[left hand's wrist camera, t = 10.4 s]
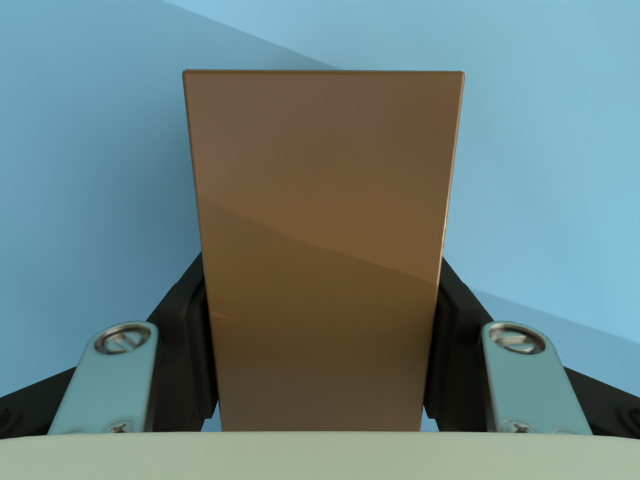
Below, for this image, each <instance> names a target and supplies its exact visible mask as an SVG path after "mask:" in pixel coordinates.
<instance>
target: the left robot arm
mask: <svg viewBox="0 0 640 480" xmlns="http://www.w3.org/2000/svg"><path fill="white" fill-rule="evenodd" d="M217 401H218V392H217V384H216V375H215V366H214V357H213V348H212V339H211V330H210V321H209V312H208V303H207V294H206V285H205V276H204V267H203V258H202V251H201V252H200V254H199V255H198V256H197V258H196V259H195V260H194V262H193V263H192V264H191V265H190V267H189V268H188V269H187V271H186V272H185V273H184V274H183V276H182V277H181V278H180V280H179V281H178V282H177V283H176V284H175V285H173V287H172V288H171V289H170V291H169V292H168V293H167V294H166V296H165V297H164V298H163V300H162V301H161V302H160V303H159V305H158V306H157V307H156V309H155V310H154V311H153V312H152V314H151V315H150V316H149V318H148V319H147V320H146V321H128V322H124V323H119V324H116V325H113V326H110V327H108V328H106V329H104V330H102V331H100V332H98V333H97V334H96V335H95V336H93V337H92V338H91V339H90V341H89V342H88V343H87V345H86V347H85V349H84V352H83V354H82V356H81V359H80V361H79V363H78V365H77V366H76V367H74V368H71V369H69V370H66V371H64V372H61V373H59V374H57V375H54V376H52V377H49V378H47V379H45V380H42V381H40V382H37V383H35V384H32V385H30V386H28V387H25V388H23V389H20V390H18V391H15V392H13V393H11V394H8V395H6V396H3V397H1V398H0V480H640V398H639V397H637V396H634V395H632V394H629V393H627V392H625V391H622V390H620V389H617V388H615V387H612V386H610V385H608V384H605V383H603V382H600V381H598V380H595V379H593V378H591V377H588V376H586V375H583V374H581V373H579V372H576V371H574V370H571V369H569V368H566V367H564V366H563V365H562V363H561V361H560V359H559V356H558V354H557V352H556V349H555V347H554V345H553V343H552V342H551V341H550V339H549V338H548V337H547V336H545V335H544V334H543V333H542V332H540V331H538V330H536V329H534V328H532V327H530V326H527V325H524V324H521V323H516V322H512V321H494V320H493V319H492V317H491V316H490V315H489V314H488V312H487V311H486V310H485V309H484V307H483V306H482V305H481V303H480V302H479V301H478V300H477V298H476V297H475V296H474V294H473V293H472V292H471V291H470V289H469V288H468V287H467V285H466V284H464V283H463V282H462V281H461V280H460V278H459V277H458V276H457V274H456V273H455V272H454V271H453V269H452V268H451V267H450V265H449V264H448V263H447V261H446V260H445V259H444V258H443V256H442V262H441V270H440V278H439V286H438V294H437V302H436V310H435V317H434V325H433V333H432V341H431V349H430V357H429V365H428V373H427V380H426V388H425V396H424V407H425V410H426V413H427V416H428V418H429V419H435V420H436V423H437V426H438V429H439V432H363V431H277V432H201V429H202V426H203V423H204V420H205V419H211V418H212V416H213V413H214V410H215V407H216V404H217Z"/></svg>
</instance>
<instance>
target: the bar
mask: <svg viewBox="0 0 640 480" xmlns="http://www.w3.org/2000/svg"><path fill="white" fill-rule="evenodd" d="M182 79H183V88H184V97H185V106H186V114H187V123H188V132H189V141H190V150H191V159H192V168H193V177H194V186H195V195H196V204H197V213H198V222H199V231H200V240H201V249H202V258H203V267H204V276H205V285H206V294H207V303H208V312H209V321H210V330H211V339H212V348H213V357H214V366H215V375H216V384H217V392H218V401H219V410H220V419H221V428H222V432H277V431H363V432H420V428H421V420H422V412H423V404H424V396H425V388H426V380H427V373H428V365H429V357H430V349H431V341H432V333H433V325H434V317H435V310H436V302H437V294H438V286H439V278H440V270H441V262H442V254H443V247H444V239H445V231H446V223H447V215H448V207H449V199H450V191H451V183H452V176H453V168H454V160H455V152H456V144H457V136H458V128H459V120H460V113H461V105H462V97H463V89H464V81H465V74H464V72H462V71H377V70H201V69H186V70H184V71H183V73H182Z"/></svg>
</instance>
